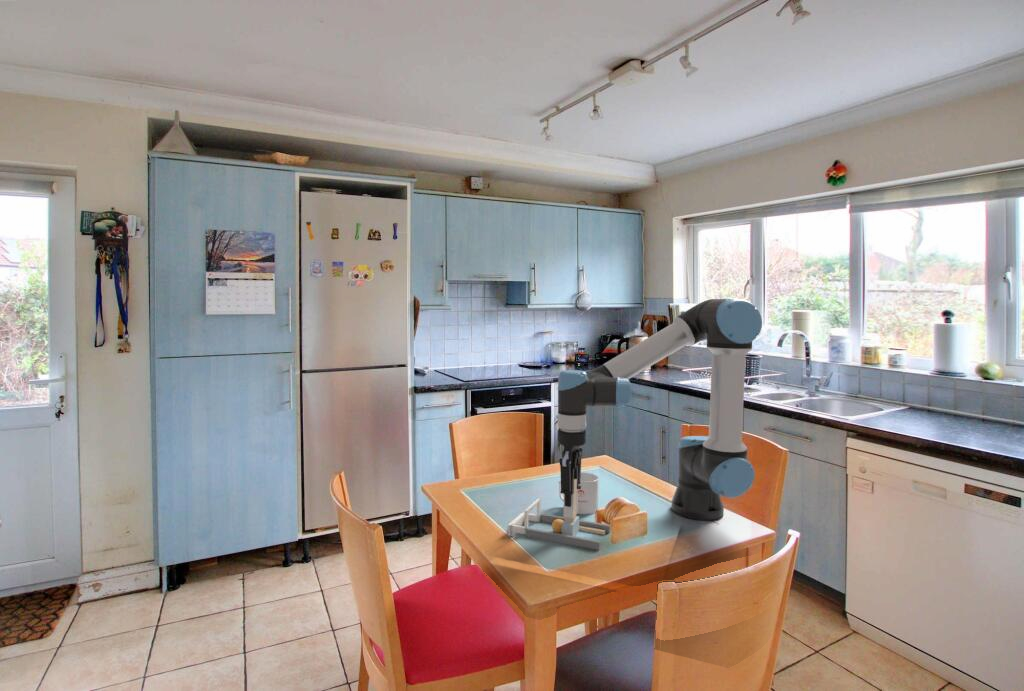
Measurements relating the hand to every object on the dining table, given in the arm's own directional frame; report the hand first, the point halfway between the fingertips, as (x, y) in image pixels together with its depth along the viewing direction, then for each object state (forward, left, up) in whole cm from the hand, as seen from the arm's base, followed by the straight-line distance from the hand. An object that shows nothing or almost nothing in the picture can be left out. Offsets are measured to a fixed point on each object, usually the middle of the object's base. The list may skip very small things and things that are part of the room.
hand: (570, 514), depth 146 cm
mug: (+3, -19, -7) cm, 21 cm away
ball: (+3, 0, -4) cm, 5 cm away
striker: (0, 0, -5) cm, 5 cm away
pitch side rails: (0, 0, -7) cm, 7 cm away
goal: (+13, 0, -7) cm, 15 cm away
